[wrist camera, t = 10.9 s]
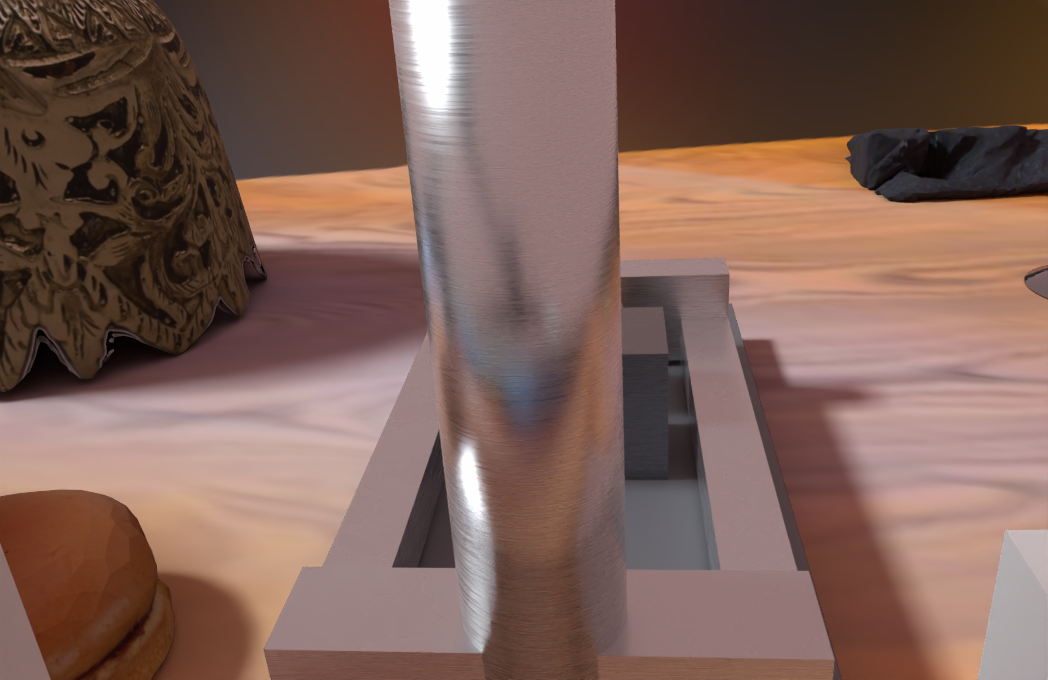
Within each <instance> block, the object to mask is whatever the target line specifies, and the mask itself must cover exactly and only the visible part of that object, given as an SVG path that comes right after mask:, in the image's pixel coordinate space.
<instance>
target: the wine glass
mask: <svg viewBox="0 0 1048 680" xmlns="http://www.w3.org/2000/svg"><path fill="white" fill-rule="evenodd" d="M1024 282H1025V285H1026V286H1027V287H1028V288H1029V289H1030V290H1032V291H1033V292H1035V293H1036V294H1038V295H1040V296H1042V297H1045V298H1047V299H1048V265H1045V266H1041V267H1038V268H1035V269H1033V270H1031V271H1029V272H1028V273H1027V274H1026V275H1025V277H1024Z"/></svg>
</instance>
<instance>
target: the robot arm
mask: <svg viewBox="0 0 1048 680" xmlns="http://www.w3.org/2000/svg"><path fill="white" fill-rule="evenodd" d="M0 680H51V679H50V676H49V674H48V671H47V668H46V666H45V663H44V660H43V658H42V655H41V652H40V649H39V647H38V644H37V641H36V639H35V636H34V633H33V631H32V628H31V625H30V622H29V620H28V617H27V614H26V612H25V609H24V606H23V604H22V601H21V598H20V595H19V593H18V590H17V587H16V585H15V582H14V579H13V577H12V574H11V571H10V568H9V566H8V563H7V560H6V558H5V555H4V552H3V550H2V547H1V544H0ZM977 680H1048V530H1005V536H1004V541H1003V546H1002V552H1001V557H1000V562H999V568H998V573H997V578H996V583H995V589H994V594H993V599H992V605H991V610H990V615H989V621H988V626H987V631H986V637H985V642H984V647H983V653H982V658H981V663H980V669H979V674H978V679H977Z"/></svg>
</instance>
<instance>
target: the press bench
mask: <svg viewBox="0 0 1048 680" xmlns="http://www.w3.org/2000/svg"><path fill="white" fill-rule="evenodd" d="M728 319H729V323H730V327H731V330H732V334H733V338H734V341H735V345H736V348H737V352H738V356H739V359H740V363H741V367H742V370H743V374H744V378H745V381H746V385H747V389H748V392H749V396H750V400H751V403H752V407H753V411H754V414H755V418H756V421H757V425H758V429H759V432H760V436H761V440H762V443H763V447H764V451H765V454H766V458H767V462H768V465H769V469H770V473H771V476H772V480H773V484H774V487H775V491H776V494H777V498H778V502H779V505H780V509H781V513H782V516H783V520H784V524H785V527H786V531H787V535H788V538H789V542H790V546H791V549H792V553H793V557H794V560H795V564H796V567H797V571H809V574H810V577H811V580H812V576H811V573H810V569H809V566H808V563H807V559H806V556H805V552H804V549H803V545H802V542H801V539H800V535H799V532H798V528H797V525H796V522H795V518H794V515H793V511H792V508H791V505H790V501H789V498H788V494H787V491H786V487H785V484H784V481H783V477H782V474H781V470H780V467H779V464H778V460H777V457H776V453H775V450H774V446H773V443H772V440H771V436H770V433H769V429H768V426H767V423H766V419H765V416H764V412H763V409H762V405H761V402H760V399H759V395H758V392H757V388H756V385H755V382H754V378H753V375H752V371H751V368H750V365H749V361H748V358H747V354H746V351H745V347H744V344H743V341H742V337H741V334H740V330H739V327H738V324H737V320H736V317H735V313H734V310H733V306H732V304H729V305H728ZM625 520H626V569H629V570H710V563H709V556H708V549H707V542H706V535H705V528H704V521H703V514H702V507H701V500H700V493H699V486H698V479H697V472H696V465H695V458H694V451H693V444H692V437H691V430H690V423H689V416H688V409H687V402H686V395H685V388H684V381H683V374H682V367H681V360H668V480H625ZM417 568H455V559H454V551H453V542H452V534H451V525H450V517H449V508H448V500H447V491H446V483H445V478H444V481H443V484H442V488H441V491H440V494H439V498H438V501H437V504H436V507H435V511H434V514H433V517H432V521H431V524H430V527H429V531H428V534H427V537H426V541H425V544H424V547H423V550H422V554H421V557H420V560H419V564H418V567H417ZM812 584H813V587H814V591H815V594H816V598H817V601H818V604H819V600H818V597H817V593H816V590H815V586H814V583H813V580H812ZM819 608H820V611H821V615H822V618H823V622H824V625H825V629H826V632H827V635H828V639H829V642H830V646H831V649H832V653H833V656H834V659H835V661H834V670H833V680H842V679H841V675H840V672H839V668H838V665H837V662H836V658H835V655H834V651H833V648H832V645H831V641H830V638H829V634H828V631H827V627H826V624H825V621H824V617H823V614H822V610H821V607H820V604H819Z"/></svg>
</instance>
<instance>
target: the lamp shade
mask: <svg viewBox="0 0 1048 680" xmlns="http://www.w3.org/2000/svg"><path fill="white" fill-rule="evenodd" d="M254 248H255V249H256V252H257V254H258V257H259V259H260V261H261V267H260V266H259V262H258V259H257V257H256V254H255V253H254V252H253V250H254ZM247 259H250V261H251V263H252V265H253V267H254V268H255V269H256V270H257V269H258V270H257V272H258V273H259V274H260V275H261V276H262V277H263V278H264V279H266V278H267V273H266V270H265V268H264V265H263V263H262V260H261V258H260V255H259V253H258V250H257V247H256V244H255V241H254V238H253V235H252V232H251V229H250V225H249V222H248V219H247V216H246V213H245V210H244V206H243V203H242V200H241V197H240V194H239V191H238V188H237V184H236V181H235V178H234V175H233V172H232V169H231V166H230V163H229V160H228V157H227V154H226V150H225V148H224V145H223V141H222V139H221V135H220V132H219V129H218V126H217V123H216V120H215V118H214V115H213V112H212V109H211V106H210V104H209V101H208V98H207V95H206V92H205V90H204V88H203V85H202V83H201V80H200V78H199V75H198V73H197V70H196V68H195V66H194V63H193V61H192V59H191V57H190V55H189V53H188V51H187V49H186V47H185V45H184V43H183V41H182V39H181V37H180V36H179V34H178V33H177V31H176V30H175V28H174V27H173V25H172V24H171V22H170V20H169V19H168V17H167V16H166V15H165V14H164V13H163V12H162V11H161V9H160V8H159V7H158V6H157V5H156V4H155V3H154V1H153V0H0V392H6V391H9V390H11V389H12V388H13V387H14V386H16V385H17V384H18V383H19V382H20V381H21V380H22V379H23V378H24V377H25V375H26V374H27V373H29V372H30V369H31V367H32V364H33V361H34V359H35V357H36V353H37V349H38V346H39V343H40V342H41V341H42V342H46V343H47V344H48V346H49V347H50V348H51V350H53V351H54V352H55V353H56V354H57V355H58V358H59V360H60V362H62V363H63V364H64V365H65V366H67V367H68V369H69V371H71V372H72V373H74V374H76V375H77V376H78V377H79V378H81V379H92V378H94V375H95V373H96V372H97V371H98V370H99V369H100V368H101V367H102V364H103V363H104V362H105V361H106V360H107V359H109V358H110V357H109V358H107V359H105V358H104V357H105V356H106V354H107V351H106V339H107V334H108V332H109V331H115V332H114V333H113V334H112V336H114V338H115V337H117V336H129V337H132V338H135V339H136V340H137V341H140V342H141V343H145V344H147V345H150V346H152V347H155V348H158V349H160V350H163V351H165V352H168V353H171V354H181V353H183V352H185V351H186V350H187V348H188V347H189V346H190V345H191V344H192V343H193V342H194V341H195V340H196V339H198V338H199V337H200V336H201V335H202V333H203V332H204V331H205V330H206V329H207V328H208V326H209V325H210V324H211V322H212V320H213V317H214V313H215V309H216V307H217V305H218V306H219V307H220V308H221V309H222V310H224V311H225V312H227V313H229V314H231V315H234V316H236V317H240V316H241V315H242V314H243V313H244V311H245V308H246V306H247V304H248V302H249V299H250V293H249V290H248V288H247V285H246V282H245V277H244V271H243V265H244V264H247V263H244V264H243V262H244V261H245V260H247ZM249 263H250V262H249ZM38 329H41V330H43V331H44V332H45V333H46V335H47V337H48V338H49V339H50V340H51V341H52V342H53V343H54V344H55V345H56V347H57V348H58V349H59V351H58V350H57V349H56V348H55V347H54V346H53V344H52V343H51V342H50V341H49V340H48V339H47V338H46V337H44V336H42V335H40V336H39V337H38V338H37V331H38ZM128 333H129V334H128ZM114 338H111V339H110V340H109V342H113V339H114ZM36 339H37V340H36ZM113 351H114V350H111V351H109V353H108V355H107V357H108V356H109V355H110V354H112V352H113Z"/></svg>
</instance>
